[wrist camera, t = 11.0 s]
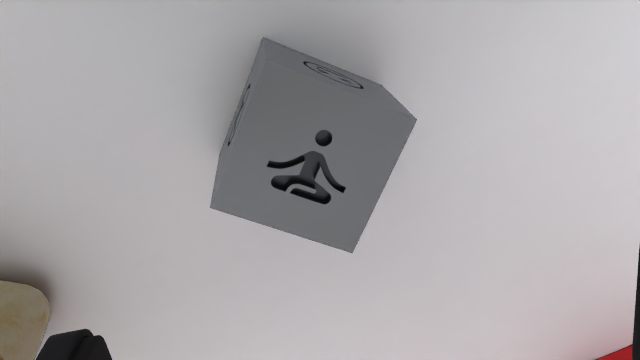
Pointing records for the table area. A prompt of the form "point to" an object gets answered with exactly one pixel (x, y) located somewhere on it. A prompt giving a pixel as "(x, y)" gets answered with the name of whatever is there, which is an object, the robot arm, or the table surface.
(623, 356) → the book
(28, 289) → the food model
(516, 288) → the table surface
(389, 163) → the dice cube
